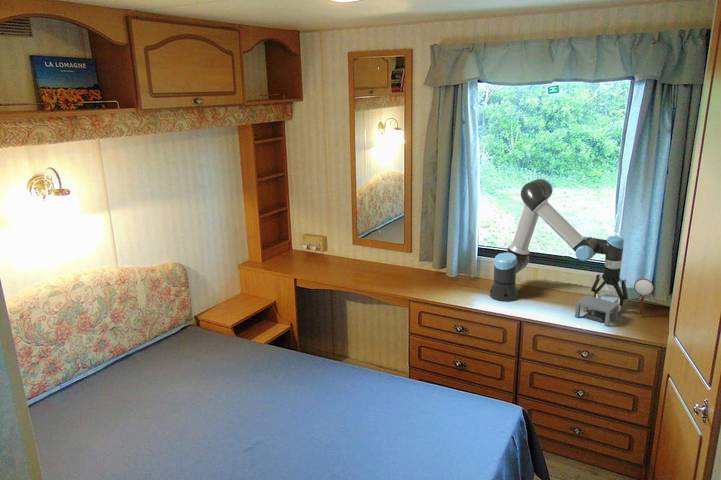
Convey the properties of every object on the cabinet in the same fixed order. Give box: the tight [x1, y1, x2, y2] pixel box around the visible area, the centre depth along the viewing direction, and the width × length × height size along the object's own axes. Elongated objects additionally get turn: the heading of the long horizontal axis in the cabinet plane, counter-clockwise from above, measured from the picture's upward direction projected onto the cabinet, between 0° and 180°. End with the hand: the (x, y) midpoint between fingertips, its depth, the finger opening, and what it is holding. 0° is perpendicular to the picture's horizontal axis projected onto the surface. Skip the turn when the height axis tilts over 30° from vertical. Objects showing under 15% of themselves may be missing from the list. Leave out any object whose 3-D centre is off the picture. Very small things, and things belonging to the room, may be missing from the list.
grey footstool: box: [574, 295, 619, 328], centre depth 260 cm, size 16×12×8 cm
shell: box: [595, 293, 620, 316], centre depth 270 cm, size 12×7×6 cm, turn 135°
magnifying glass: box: [633, 278, 655, 317], centre depth 259 cm, size 9×2×20 cm, turn 57°
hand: (607, 308), depth 270 cm, fingers open, 10 cm apart
